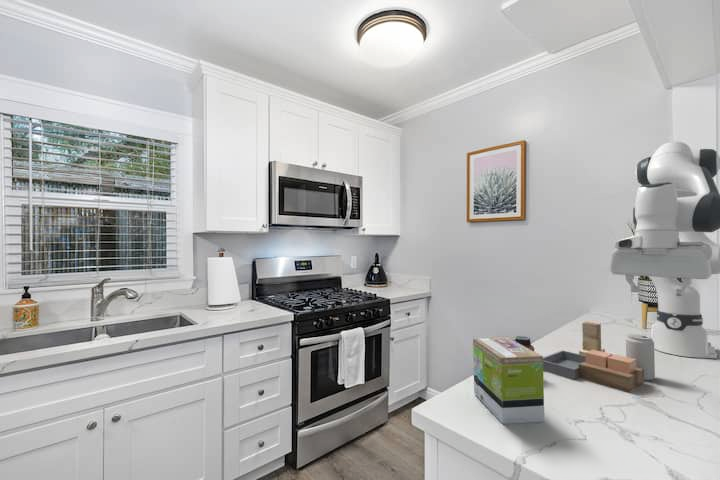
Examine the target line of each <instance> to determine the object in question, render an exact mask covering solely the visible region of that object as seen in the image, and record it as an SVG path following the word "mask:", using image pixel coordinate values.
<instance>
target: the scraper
mask: <svg viewBox="0 0 720 480" xmlns="http://www.w3.org/2000/svg"><path fill="white" fill-rule="evenodd" d="M581 328H582V349H580V350H578V354H580V355H584V356H586V352H588V351H591V350H597V351H601V352H606V349H605V348H603V347H602V323H600V322H599V323H598V322H593V321H592V322H591V321H584V322H582V327H581Z"/></svg>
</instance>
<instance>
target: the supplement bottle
mask: <svg viewBox="0 0 720 480" xmlns="http://www.w3.org/2000/svg"><path fill="white" fill-rule="evenodd" d="M514 341H516V342H517V343H519V344H521V345H523V346H525V347H527V348H528V349H530V350H532V351H534V352H535V347H534V345H532V344H531V343H532V342H531V338H530V337H529V336H525V335H516V336H515V340H514Z"/></svg>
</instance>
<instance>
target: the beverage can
mask: <svg viewBox="0 0 720 480" xmlns="http://www.w3.org/2000/svg"><path fill="white" fill-rule="evenodd" d="M625 357H629V358H633V359H636V367H639V368H643V369H644V381H647V382H648V381H652V380H654V379H655V378H656V368H655V364H656V363H655V349H654V342H653V340H652V337H651V336H649V335H646V334H640V333H639V334H638V333H627V336H626V338H625Z"/></svg>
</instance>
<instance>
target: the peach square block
mask: <svg viewBox="0 0 720 480" xmlns="http://www.w3.org/2000/svg"><path fill="white" fill-rule="evenodd" d="M612 355H613V353H609V352H606V351H605V352H601V351H597V350H591V351H588V352H586V363H588V364H592V365H596V366H600V367H604V368H607V367H608V357H610V356H612Z"/></svg>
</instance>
